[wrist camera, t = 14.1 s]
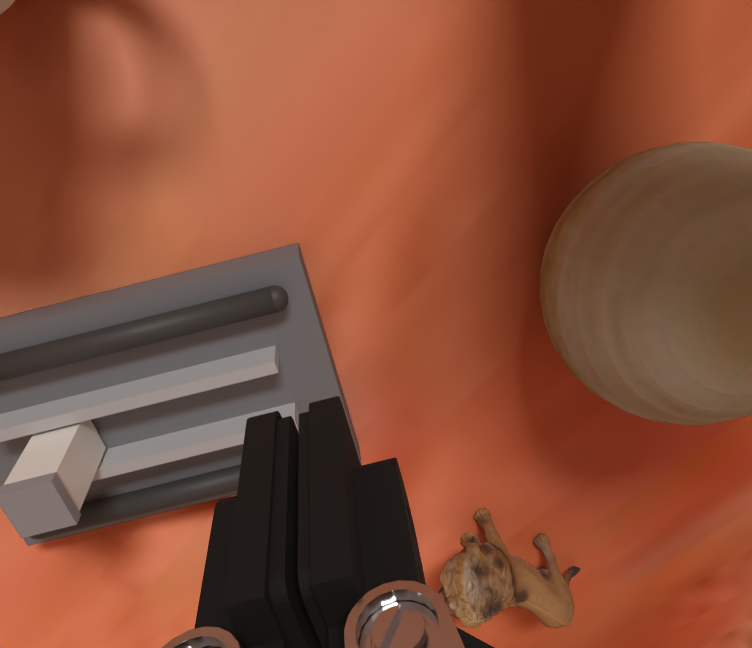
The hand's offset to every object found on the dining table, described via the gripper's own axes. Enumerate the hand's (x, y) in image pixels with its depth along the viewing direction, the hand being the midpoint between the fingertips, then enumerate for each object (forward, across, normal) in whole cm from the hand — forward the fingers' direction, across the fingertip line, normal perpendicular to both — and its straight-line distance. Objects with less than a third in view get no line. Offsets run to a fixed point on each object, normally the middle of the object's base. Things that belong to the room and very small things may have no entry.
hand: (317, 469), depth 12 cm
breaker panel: (+28, +14, +14) cm, 35 cm away
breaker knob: (+26, +19, +14) cm, 35 cm away
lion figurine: (+29, -6, +35) cm, 46 cm away
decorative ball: (+29, -18, +11) cm, 36 cm away
